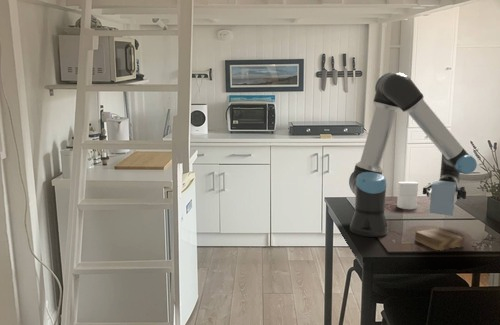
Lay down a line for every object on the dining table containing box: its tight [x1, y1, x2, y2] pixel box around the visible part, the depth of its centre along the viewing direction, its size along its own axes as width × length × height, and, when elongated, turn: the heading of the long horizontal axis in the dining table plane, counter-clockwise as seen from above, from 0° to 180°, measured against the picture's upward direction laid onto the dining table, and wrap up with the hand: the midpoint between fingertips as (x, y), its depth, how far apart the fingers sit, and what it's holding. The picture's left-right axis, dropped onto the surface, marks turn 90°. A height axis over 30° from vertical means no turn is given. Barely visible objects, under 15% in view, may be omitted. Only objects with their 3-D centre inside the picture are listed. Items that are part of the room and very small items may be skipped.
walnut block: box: [414, 227, 464, 251], centre depth 186 cm, size 12×12×4 cm
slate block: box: [429, 179, 457, 217], centre depth 184 cm, size 8×8×11 cm
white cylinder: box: [396, 181, 419, 210], centre depth 236 cm, size 9×9×12 cm
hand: (442, 197), depth 179 cm, fingers closed on slate block, 8 cm apart
